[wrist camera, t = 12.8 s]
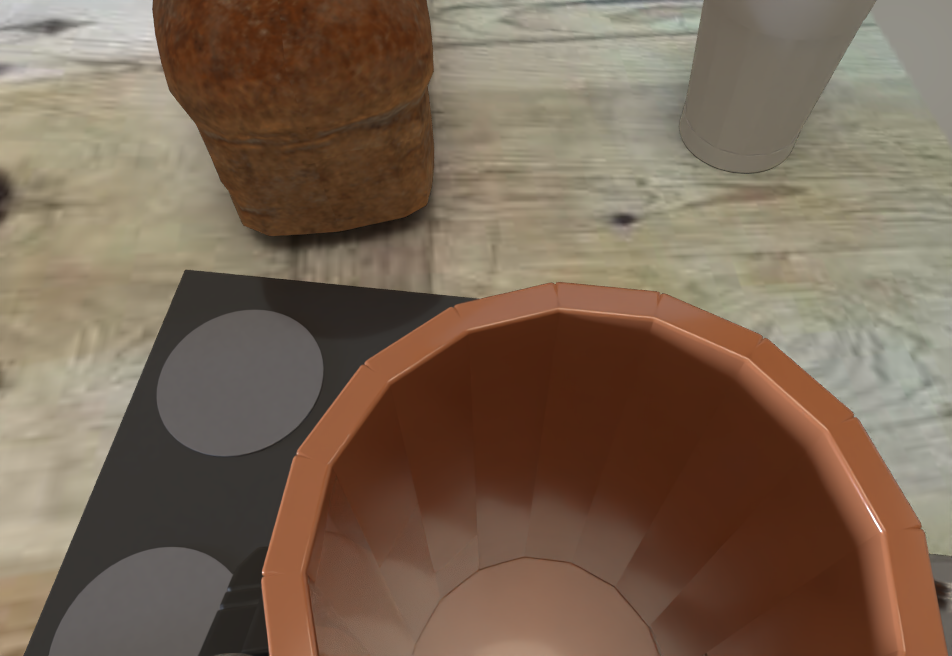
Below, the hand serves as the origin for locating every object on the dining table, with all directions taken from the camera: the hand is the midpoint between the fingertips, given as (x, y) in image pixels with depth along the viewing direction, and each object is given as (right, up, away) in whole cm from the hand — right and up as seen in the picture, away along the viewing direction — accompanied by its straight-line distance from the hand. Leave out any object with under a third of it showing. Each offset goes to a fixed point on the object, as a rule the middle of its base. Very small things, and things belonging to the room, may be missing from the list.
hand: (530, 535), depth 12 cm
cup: (+14, +14, +31) cm, 36 cm away
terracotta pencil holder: (0, -4, +3) cm, 5 cm away
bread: (-10, +18, +34) cm, 40 cm away
